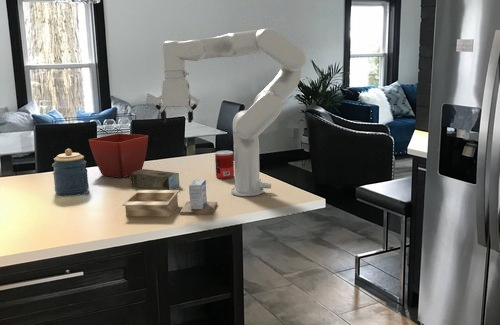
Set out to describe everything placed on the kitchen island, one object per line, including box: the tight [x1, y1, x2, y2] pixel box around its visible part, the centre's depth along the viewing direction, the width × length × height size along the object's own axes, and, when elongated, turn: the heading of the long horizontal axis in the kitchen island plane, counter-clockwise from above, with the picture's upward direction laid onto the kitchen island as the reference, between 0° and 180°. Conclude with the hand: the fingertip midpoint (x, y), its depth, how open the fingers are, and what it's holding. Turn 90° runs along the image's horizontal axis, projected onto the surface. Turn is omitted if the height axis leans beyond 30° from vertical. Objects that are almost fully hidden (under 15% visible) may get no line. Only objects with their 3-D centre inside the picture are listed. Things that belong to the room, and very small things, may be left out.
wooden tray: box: [122, 189, 180, 217], centre depth 188 cm, size 15×18×5 cm
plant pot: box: [88, 132, 149, 179], centre depth 243 cm, size 19×19×17 cm
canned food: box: [214, 150, 235, 180], centre depth 233 cm, size 8×8×11 cm
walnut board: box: [179, 201, 218, 216], centre depth 189 cm, size 11×12×1 cm
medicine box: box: [188, 179, 208, 209], centre depth 188 cm, size 8×4×9 cm, turn 174°
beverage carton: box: [130, 168, 180, 190], centre depth 220 cm, size 8×19×7 cm, turn 65°
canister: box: [51, 148, 90, 197], centre depth 213 cm, size 13×13×18 cm
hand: (177, 122), depth 200 cm, fingers open, 9 cm apart
